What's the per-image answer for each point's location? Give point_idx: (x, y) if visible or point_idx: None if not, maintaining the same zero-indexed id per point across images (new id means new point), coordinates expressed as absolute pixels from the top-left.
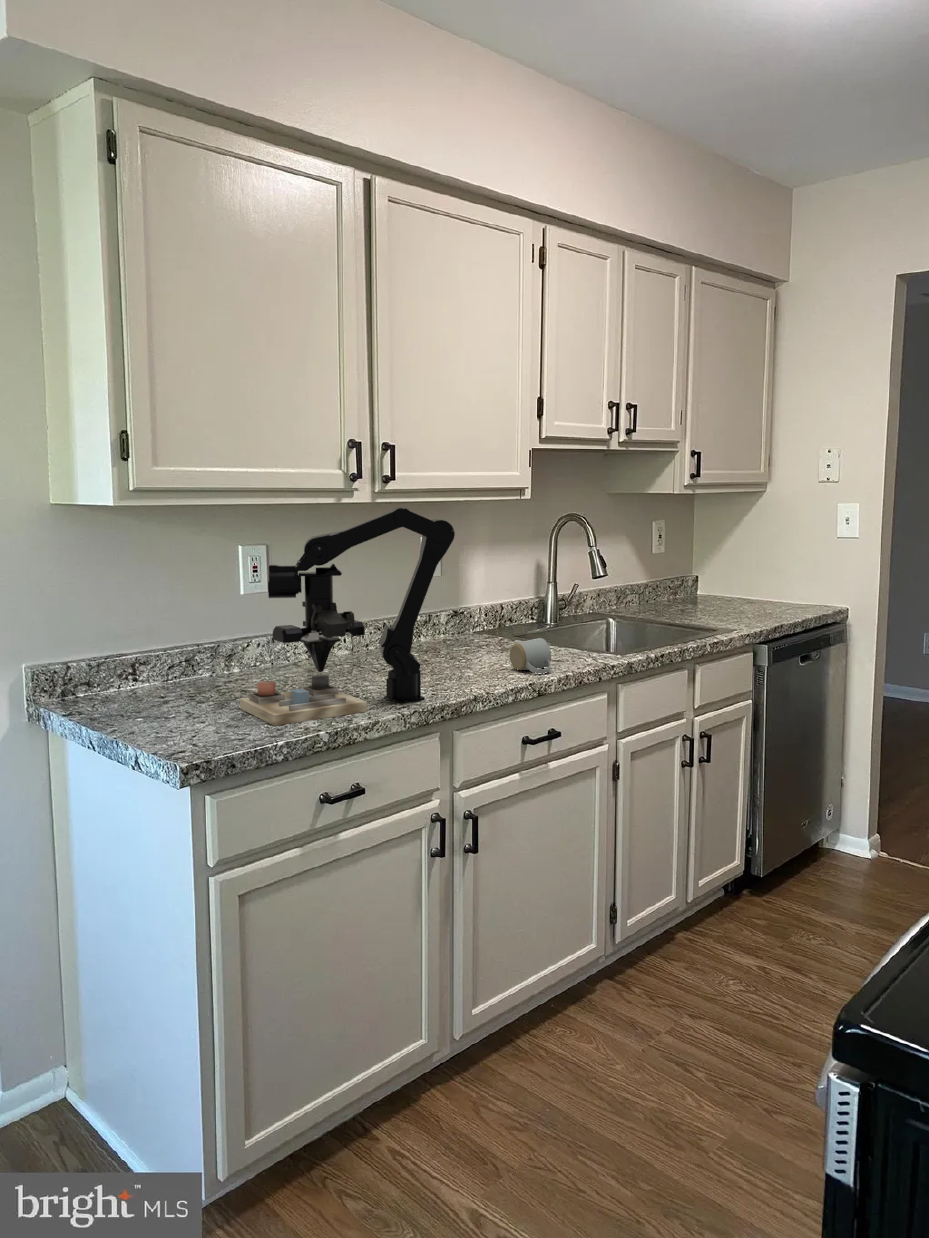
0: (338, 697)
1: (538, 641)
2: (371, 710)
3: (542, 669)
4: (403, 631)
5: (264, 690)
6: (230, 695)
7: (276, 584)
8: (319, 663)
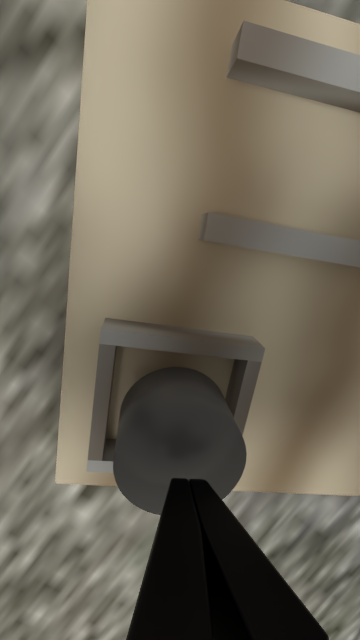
0: (165, 230)
1: None
2: (58, 2)
3: None
4: None
5: None
6: (320, 617)
7: None
8: (244, 546)
